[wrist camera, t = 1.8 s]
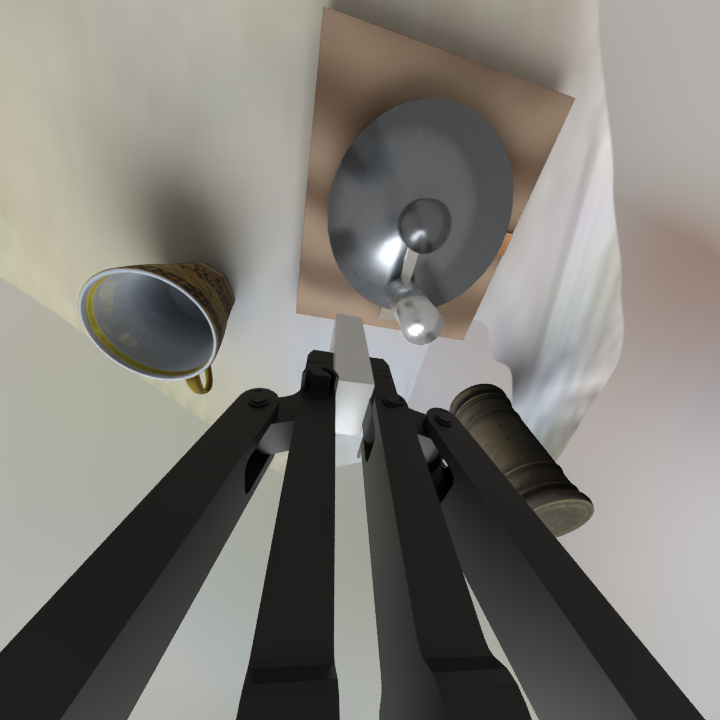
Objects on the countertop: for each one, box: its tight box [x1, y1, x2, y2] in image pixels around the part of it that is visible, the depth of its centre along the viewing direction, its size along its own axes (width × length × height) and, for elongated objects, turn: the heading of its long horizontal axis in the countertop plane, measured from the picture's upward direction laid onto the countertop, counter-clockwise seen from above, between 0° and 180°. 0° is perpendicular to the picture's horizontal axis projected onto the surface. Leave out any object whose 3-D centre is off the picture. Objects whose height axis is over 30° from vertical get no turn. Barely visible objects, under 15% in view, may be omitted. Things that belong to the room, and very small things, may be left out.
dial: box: [327, 98, 513, 345], centre depth 20 cm, size 16×16×10 cm
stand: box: [296, 6, 575, 340], centre depth 26 cm, size 22×20×3 cm
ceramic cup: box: [78, 262, 235, 394], centre depth 26 cm, size 13×10×10 cm
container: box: [450, 384, 594, 538], centre depth 35 cm, size 9×9×18 cm
